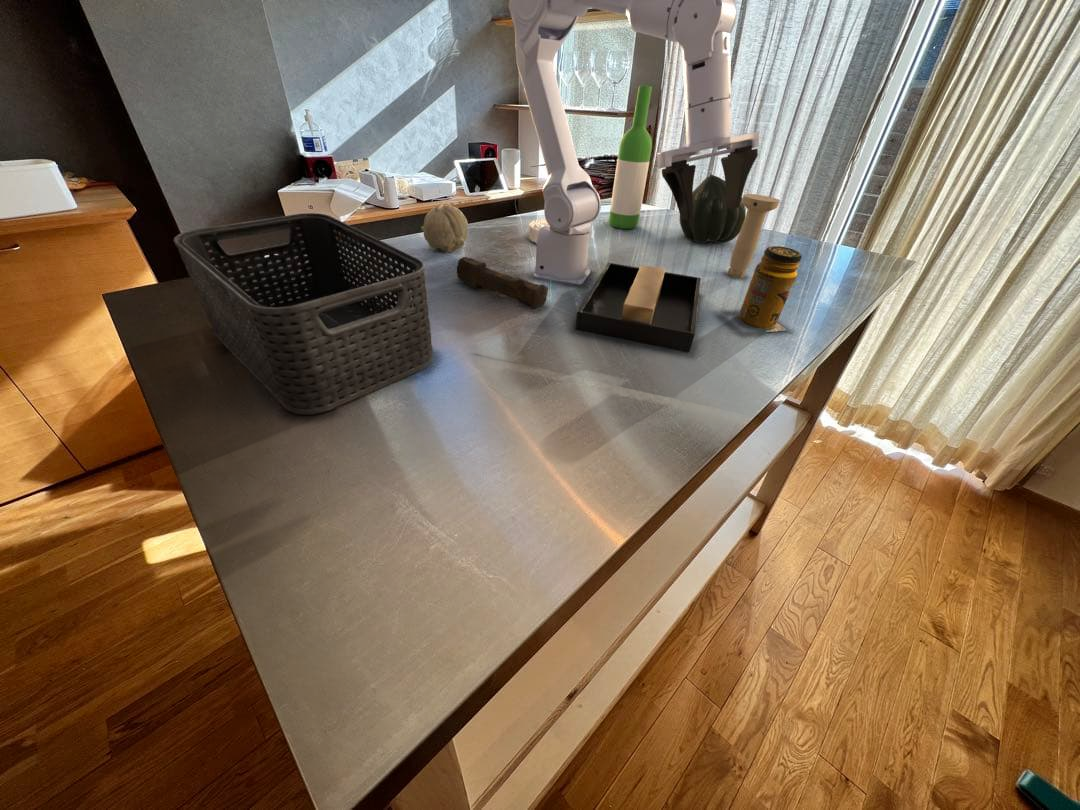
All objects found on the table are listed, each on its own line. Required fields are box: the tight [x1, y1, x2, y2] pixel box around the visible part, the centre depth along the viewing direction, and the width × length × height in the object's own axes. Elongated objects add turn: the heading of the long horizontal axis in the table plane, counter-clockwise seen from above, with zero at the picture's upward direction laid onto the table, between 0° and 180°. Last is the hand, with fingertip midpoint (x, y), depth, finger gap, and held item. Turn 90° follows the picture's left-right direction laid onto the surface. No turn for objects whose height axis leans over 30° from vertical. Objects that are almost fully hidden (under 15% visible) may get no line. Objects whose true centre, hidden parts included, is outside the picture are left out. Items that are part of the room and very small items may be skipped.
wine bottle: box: [608, 85, 653, 230], centre depth 107 cm, size 8×8×30 cm
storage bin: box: [173, 212, 434, 415], centre depth 57 cm, size 29×19×13 cm
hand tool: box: [456, 256, 549, 310], centre depth 77 cm, size 19×4×5 cm, turn 53°
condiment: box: [721, 245, 803, 333], centre depth 70 cm, size 7×8×12 cm
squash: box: [679, 174, 747, 244], centre depth 107 cm, size 14×15×15 cm
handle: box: [727, 193, 781, 279], centre depth 87 cm, size 5×6×15 cm
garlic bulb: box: [420, 204, 469, 253], centre depth 92 cm, size 9×8×10 cm
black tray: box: [575, 262, 702, 354], centre depth 74 cm, size 17×23×3 cm
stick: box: [622, 264, 666, 324], centre depth 73 cm, size 4×18×4 cm, turn 162°
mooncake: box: [528, 218, 549, 245], centre depth 103 cm, size 12×12×4 cm
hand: (710, 213), depth 65 cm, fingers open, 7 cm apart
